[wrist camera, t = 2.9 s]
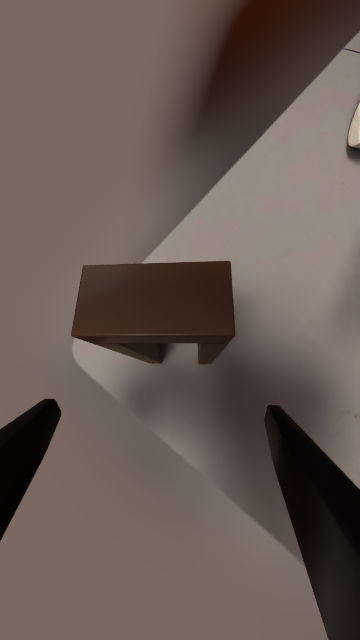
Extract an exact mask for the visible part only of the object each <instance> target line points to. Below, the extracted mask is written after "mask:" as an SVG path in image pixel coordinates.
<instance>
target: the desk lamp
mask: <svg viewBox="0 0 360 640" xmlns="http://www.w3.org/2000/svg"><path fill="white" fill-rule="evenodd" d="M348 145H350V146H351V147H355V148H360V103H359V105H358V107H357V110H356V112H355V115H354V117H353V120H352V123H351V126H350V129H349V134H348Z"/></svg>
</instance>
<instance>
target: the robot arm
mask: <svg viewBox="0 0 360 640" xmlns="http://www.w3.org/2000/svg"><path fill="white" fill-rule="evenodd" d="M60 417H61V410H60V408H59V406H58V404H57V402H56V400H55V399H44V400H42V401H41V402H39V403H38V404H36V405H35V406H33V407H32V408H31V409H29V410H28V411H26V412H25V413H23V414H22V415H20V416H19V417H17V418H16V419H15V420H13V421H12V422H10V423H9V424H7V425H6V426H4V427H3V428H1V429H0V541H1V539H2V537H3V535H4V533H5V531H6V529H7V527H8V525H9V523H10V521H11V519H12V517H13V515H14V514H15V512H16V510H17V508H18V506H19V504H20V502H21V500H22V498H23V496H24V494H25V492H26V490H27V488H28V486H29V485H30V483H31V481H32V479H33V477H34V475H35V473H36V471H37V469H38V467H39V465H40V463H41V461H42V459H43V457H44V455H45V453H46V451H47V449H48V446H49V444H50V441H51V439H52V437H53V434H54V432H55V429H56V427H57V424H58V422H59V420H60ZM264 423H265V428H266V433H267V438H268V442H269V447H270V452H271V456H272V461H273V465H274V469H275V472H276V475H277V478H278V482H279V485H280V488H281V491H282V494H283V497H284V500H285V504H286V507H287V510H288V513H289V516H290V519H291V523H292V526H293V529H294V532H295V535H296V538H297V541H298V545H299V548H300V551H301V554H302V557H303V560H304V563H305V567H306V570H307V573H308V576H309V579H310V582H311V585H312V589H313V592H314V595H315V598H316V601H317V604H318V608H319V611H320V614H321V617H322V620H323V623H324V626H325V630H326V633H327V636H328V639H329V640H360V489H359V488H358V487H357V486H356V485H355V484H354V483H353V482H352V481H351V480H350V479H349V478H348V477H347V476H346V475H345V474H344V473H343V472H342V470H341V469H340V468H339V467H338V466H337V465H336V464H335V463H334V462H333V461H332V460H331V459H330V458H329V457H328V456H327V455H326V454H325V453H324V452H323V451H322V450H321V449H320V448H319V446H318V445H317V444H316V443H315V442H314V441H313V440H312V439H311V438H310V437H309V436H308V435H307V434H306V433H305V432H304V431H303V430H302V429H301V428H300V427H299V426H298V425H297V424H296V422H295V421H294V420H293V419H292V418H291V417H290V416H289V415H288V414H287V413H286V412H285V411H284V410H283V409H282V408H281V407H280V406H279V405H268V406H267V408H266V412H265V416H264Z"/></svg>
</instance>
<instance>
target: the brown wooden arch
mask: <svg viewBox="0 0 360 640" xmlns="http://www.w3.org/2000/svg"><path fill="white" fill-rule="evenodd" d="M71 336H73V337H75V338H78V339H81V340H84V341H87V342H90V343H93V344H96V345H99V346H101V347H104V348H107V349H110V350H113V351H116V352H119V353H122V354H125V355H128V356H130V357H133V358H136V359H139V360H142V361H145V362H148V363H161V362H162V343H198V364H211V363H212V362H213V361H214V359H215V358H216V357H217V356H218V355H219V354H220V353H221V352H222V350H223V349H224V348H225V347H226V346H227V345H228V344H229V342H230V341H231V340H232V339H233V338H234V336H235V321H234V306H233V290H232V274H231V262H230V261H213V262H180V263H148V264H118V265H117V264H116V265H86V266H83V270H82V275H81V281H80V287H79V292H78V298H77V304H76V309H75V315H74V321H73V327H72V332H71Z"/></svg>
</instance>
